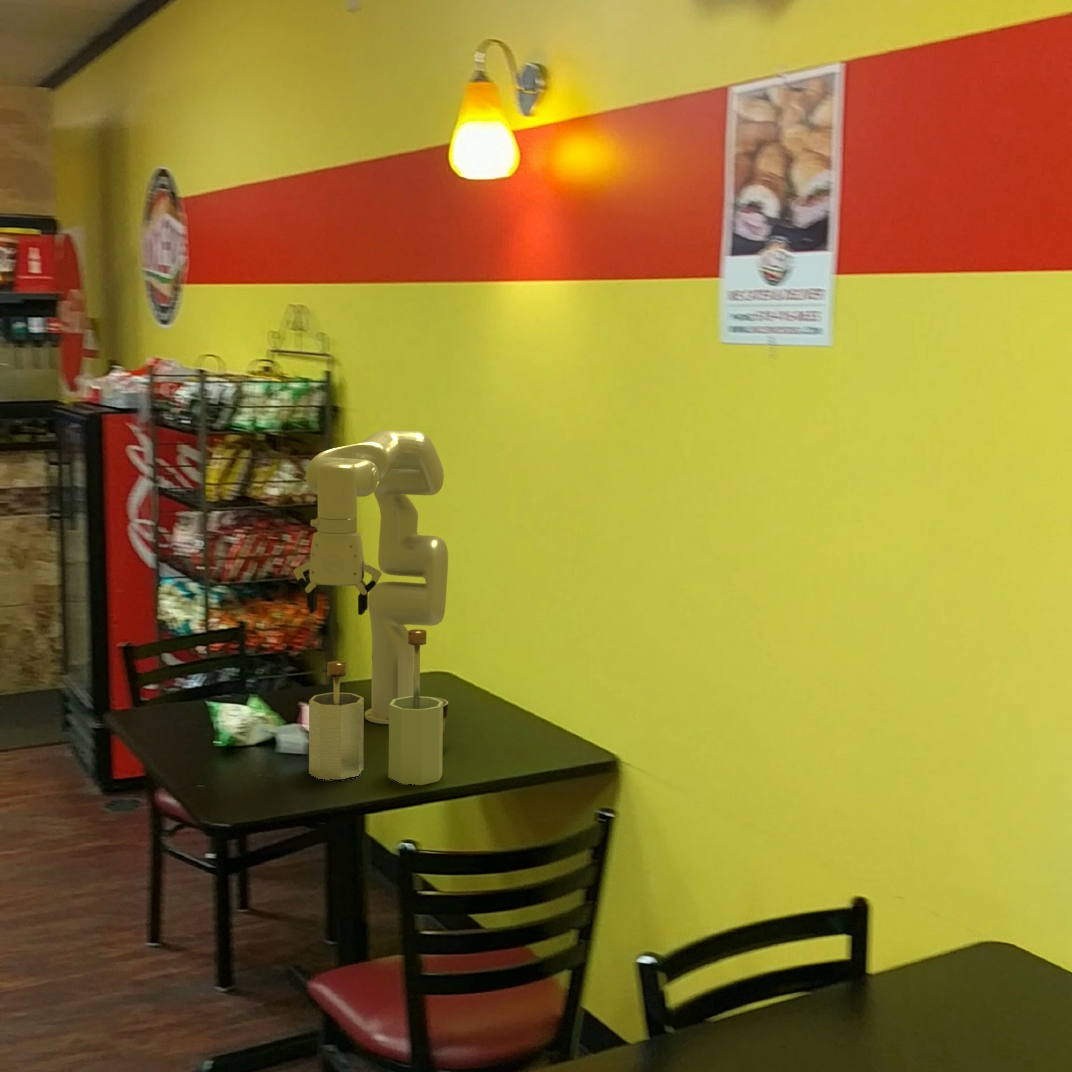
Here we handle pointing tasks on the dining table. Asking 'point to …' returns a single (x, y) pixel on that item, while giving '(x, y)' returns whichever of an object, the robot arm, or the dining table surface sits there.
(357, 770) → the beige tall hollow piece
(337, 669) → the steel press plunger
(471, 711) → the dining table surface
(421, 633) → the sage plunger
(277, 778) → the dining table surface
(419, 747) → the cup
